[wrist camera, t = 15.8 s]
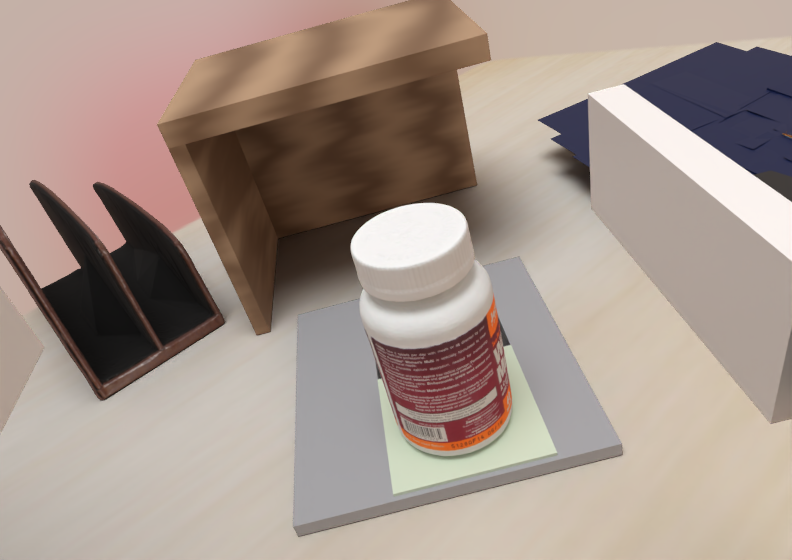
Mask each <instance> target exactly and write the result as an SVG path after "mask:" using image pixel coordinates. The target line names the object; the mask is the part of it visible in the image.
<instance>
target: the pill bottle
mask: <svg viewBox="0 0 792 560" xmlns="http://www.w3.org/2000/svg"><path fill="white" fill-rule="evenodd" d="M351 254H352V258H353V261H354V264H355V267H356V271H357V276H358V279H359V282H360V284H361V286H362V287H363V290H362V293H361V296H360V302H359V309H360V316H361V319H362V322H363V326H364V329H365V332H366V334H367V337H368V340H369V343H370V346H371V349H372V352H373V355H374V358H375V361H376V363H377V366H378V369H379V372H380V375H381V378H382V381H383V384H384V387H385V390H386V393H387V396H388V399H389V402H390V405H391V408H392V411H393V414H394V417H395V420H396V422H397V425H398V427H399V429H400V431H401V433H402V435H403V436H404V437H405V439H406V440H407V441H408V442H409V443H410V444H411V445H413V446H414V447H415V448H417V449H419V450H421V451H423V452H426V453H429V454H433V455H439V456H456V455H462V454H467V453H471V452H474V451H476V450H479V449H481V448H483V447H485V446H486V445H488V444H490V443H491V442H492V441H494V440H495V439H496V438H497V437H498V436H499V435H500V434H501V433H502V432H503V431H504V429H505V427H506V426H507V424H508V422H509V419H510V416H511V412H512V395H511V388H510V382H509V375H508V370H507V364H506V358H505V353H504V347H503V342H502V336H501V331H500V325H499V319H498V314H497V309H496V303H495V298H494V293H493V288H492V284H491V280H490V277H489V275H488V273H487V271H486V270H485V269H484V267H483V266H482V265H481V264H480V263H479V262H478V261H477V260H475V254H474V248H473V244H472V241H471V237H470V232H469V227H468V223H467V220H466V218H465V216H464V215H463V214H462V213H461V212H460V211H459V210H457V209H455V208H453V207H451V206H448V205H444V204H438V203H417V204H410V205H405V206H400V207H397V208H394V209H391V210H389V211H386V212H383V213H381V214H379V215H377V216H375V217H374V218H372V219H371V220H369V221H368V222H366V223H365V224H364V225H363V226H362V227H360V229H359V230H358V231H357V232H356V233H355V235H354V237H353V238H352V241H351Z"/></svg>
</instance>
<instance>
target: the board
mask: <svg viewBox="0 0 792 560" xmlns="http://www.w3.org/2000/svg"><path fill="white" fill-rule="evenodd" d="M483 267H484V269H485V270H486V271H487V273H488V275H489V277H490V280H491V284H492V288H493V293H494V298H495V303H496V309H497V314H498V319H499V325H500V331H501V336H502V342H503V347H504V353H505V358H506V364H507V370H508V375H509V382H510V388H511V395H512V412H511V416H510V419H509V422H508V424H507V426H506V427H505V429H504V431H503V432H502V433H501V434H500V435H499V436H498V437H497V438H496V439H495V440H494V441H492V442H491V443H490V444H488V445H486V446H485V447H483V448H481V449H479V450H476V451H474V452H471V453H467V454H462V455H456V456H439V455H433V454H429V453H426V452H423V451H421V450H419V449H417V448H415V447H414V446H413V445H411V444H410V443H409V442H408V441H407V440H406V439H405V437H404V436H403V435H402V433H401V431H400V429H399V427H398V425H397V422H396V420H395V417H394V414H393V411H392V408H391V405H390V402H389V399H388V396H387V393H386V390H385V387H384V384H383V381H382V378H381V375H380V372H379V369H378V366H377V363H376V361H375V358H374V355H373V352H372V349H371V346H370V343H369V340H368V337H367V334H366V332H365V329H364V326H363V322H362V319H361V316H360V309H359V302H360V299H356V300H352V301H349V302H345V303H341V304H337V305H333V306H330V307H326V308H322V309H318V310H314V311H311V312H307V313H303V314H299V315H298V331H297V375H296V420H295V465H294V509H293V528H294V529H295V531H296V533H297V535H298V536H302V535H306V534H310V533H314V532H318V531H322V530H326V529H330V528H334V527H338V526H342V525H346V524H350V523H353V522H357V521H361V520H365V519H369V518H373V517H377V516H381V515H385V514H389V513H393V512H397V511H401V510H405V509H409V508H413V507H417V506H421V505H425V504H429V503H433V502H437V501H441V500H445V499H449V498H453V497H456V496H460V495H464V494H468V493H472V492H476V491H480V490H484V489H488V488H492V487H496V486H500V485H504V484H508V483H512V482H516V481H520V480H524V479H528V478H532V477H536V476H540V475H544V474H548V473H552V472H556V471H559V470H563V469H567V468H571V467H575V466H579V465H583V464H587V463H591V462H595V461H599V460H603V459H607V458H611V457H615V456H619V455H622V443H621V441H620V439H619V437H618V436H617V434H616V432H615V430H614V428H613V427H612V425H611V423H610V421H609V419H608V417H607V416H606V414H605V412H604V410H603V408H602V406H601V405H600V403H599V401H598V399H597V397H596V396H595V394H594V392H593V390H592V388H591V386H590V385H589V383H588V381H587V379H586V377H585V375H584V374H583V372H582V370H581V368H580V366H579V365H578V363H577V361H576V359H575V357H574V355H573V354H572V352H571V350H570V348H569V346H568V344H567V343H566V341H565V339H564V337H563V335H562V334H561V332H560V330H559V328H558V326H557V324H556V323H555V321H554V319H553V317H552V315H551V313H550V312H549V310H548V308H547V306H546V304H545V302H544V301H543V299H542V297H541V295H540V293H539V292H538V290H537V288H536V286H535V284H534V282H533V281H532V279H531V277H530V275H529V273H528V271H527V270H526V268H525V266H524V264H523V262H522V261H521V259H520V257H515V258H511V259H508V260H504V261H500V262H496V263H493V264H489V265H485V266H483Z"/></svg>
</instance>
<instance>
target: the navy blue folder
mask: <svg viewBox="0 0 792 560" xmlns="http://www.w3.org/2000/svg"><path fill="white" fill-rule="evenodd" d="M622 85H623V84H622ZM624 85H626V86H627V87H629V88H630V89H632V90H633V91H634V92H636V93H637V94H639V95H640V96H641V97H643V98H644V99H646V100H647V101H649V102H650V103H651V104H653V105H654V106H656V107H657V108H659V109H660V110H661V111H663V112H664V113H666V114H667V115H669V116H670V117H671V118H673V119H674V120H676V121H677V122H678V123H680V124H681V125H683V126H684V127H686V128H687V129H688V130H690V131H691V132H693V133H694V134H696V135H697V136H698V137H700V138H701V139H703V140H704V141H705V142H707V143H708V144H710V145H711V146H713V147H714V148H715V149H717V150H718V151H720V152H721V153H723V154H724V155H725V156H727V157H728V158H730V159H731V160H733V161H734V162H735V163H737V164H738V165H740V166H741V167H742V168H744V169H745V170H747V171H748V172H750V173H751V174H752V175H755V174H759V173H763V172H766V171H770V170H771V171H775V172H778V173H781V174H784V175H787V176H791V177H792V56H789V55H786V54H782V53H778V52H775V51H771V50H767V49H763V48H760V47H755V48H753V49H751V50H749V51H744V50H741V49H737V48H734V47H731V46H727V45H724V44H721V43H717V42H716V43H714V44H711V45H709V46H707V47H705V48H703V49H700V50H698V51H696V52H694V53H691V54H689V55H687V56H685V57H682V58H680V59H678V60H676V61H674V62H671V63H669V64H667V65H665V66H662V67H660V68H658V69H656V70H653V71H651V72H649V73H647V74H644V75H642V76H640V77H638V78H636V79H633V80H631V81H629V82H626V83H624ZM538 121H540V122H542V123H544V124H545V125H547V126H549V127H550V128H552V129H554V130H556V131H557V132H559V133H561V135H559V136H556V137H554V138H551V140H553V141H555V142H556V143H558V144H560V145H561V146H563V147H565V148H566V149H568V150H569V151H571V152H573V153H574V154H576V155H575V156H573V157H574V158H575V159H577V160H579V161H580V162H582V163H583V164H585V165H587V166H588V167H590V152H589V119H588V99H586V100H584V101H582V102H579V103H577V104H574V105H572V106H570V107H567V108H565V109H563V110H560V111H558V112H556V113H553V114H551V115H549V116H546V117H544V118H541V119H539V120H538Z"/></svg>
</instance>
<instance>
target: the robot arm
mask: <svg viewBox="0 0 792 560" xmlns="http://www.w3.org/2000/svg"><path fill="white" fill-rule="evenodd" d="M588 119H589V152H590V185H591V209H592V210H593V211H594V212H595V214H596V215H597V216H598V217H599V218H600V220H601V221H602V222H603V223H604V224H605V226H606V227H607V228H608V229H609V230H610V232H611V233H612V234H613V235H614V236H615V238H616V239H617V240H618V241H619V242H620V244H621V245H622V246H623V247H624V248H625V250H626V251H627V252H628V253H629V254H630V256H631V257H632V258H633V259H634V260H635V262H636V263H637V264H638V265H639V266H640V268H641V269H642V270H643V271H644V272H645V274H646V275H647V276H648V277H649V278H650V280H651V281H652V282H653V283H654V284H655V286H656V287H657V288H658V289H659V290H660V292H661V293H662V294H663V295H664V296H665V298H666V299H667V300H668V301H669V302H670V304H671V305H672V306H673V307H674V308H675V310H676V311H677V312H678V313H679V314H680V316H681V317H682V318H683V319H684V320H685V322H686V323H687V324H688V325H689V326H690V328H691V329H692V330H693V331H694V332H695V334H696V335H697V336H698V337H699V338H700V340H701V341H702V342H703V343H704V344H705V346H706V347H707V348H708V349H709V350H710V352H711V353H712V354H713V355H714V357H715V358H716V359H717V360H718V361H719V363H720V364H721V365H722V366H723V367H724V369H725V370H726V371H727V372H728V373H729V375H730V376H731V377H732V378H733V379H734V381H735V382H736V383H737V384H738V385H739V387H740V388H741V389H742V390H743V391H744V393H745V394H746V395H747V396H748V397H749V399H750V400H751V401H752V402H753V403H754V405H755V406H756V407H757V408H758V409H759V411H760V412H761V413H762V414H763V415H764V417H765V418H766V419H767V420H768V421H769V423H770V424H773V423H777V422H781V421H785V420H789V419H792V177H791V176H787V175H784V174H781V173H778V172H775V171H771V170H770V171H766V172H763V173H759V174H755V175H752V174H751V173H750V172H748V171H747V170H745V169H744V168H742V167H741V166H740V165H738V164H737V163H735V162H734V161H733V160H731V159H730V158H728V157H727V156H725V155H724V154H723V153H721V152H720V151H718V150H717V149H715V148H714V147H713V146H711V145H710V144H708V143H707V142H705V141H704V140H703V139H701V138H700V137H698V136H697V135H696V134H694V133H693V132H691V131H690V130H688V129H687V128H686V127H684V126H683V125H681V124H680V123H678V122H677V121H676V120H674V119H673V118H671V117H670V116H669V115H667V114H666V113H664V112H663V111H661V110H660V109H659V108H657V107H656V106H654V105H653V104H651V103H650V102H649V101H647V100H646V99H644V98H643V97H641V96H640V95H639V94H637V93H636V92H634V91H633V90H632V89H630V88H629V87H627V86H626V85H624V84H623V85H619V86H615V87H611V88H607V89H603V90H599V91H596V92H592V93H588ZM43 349H44V345H43V344H42V343H41V341H40V340H39V339H38V337H37V336H36V334H35V333H34V332H33V330H32V329H31V328H30V326H29V325H28V324H27V322H26V321H25V319H24V318H23V317H22V315H21V314H20V313H19V311H18V310H17V309H16V307H15V306H14V305H13V303H12V302H11V300H10V299H9V298H8V296H7V295H6V294H5V292H4V291H3V290H2V288H1V287H0V434H1V432H2V430H3V428H4V426H5V424H6V422H7V420H8V418H9V416H10V414H11V412H12V410H13V408H14V406H15V404H16V402H17V400H18V398H19V396H20V395H21V393H22V391H23V389H24V387H25V385H26V383H27V381H28V379H29V377H30V375H31V373H32V371H33V369H34V367H35V365H36V363H37V361H38V359H39V357H40V355H41V353H42V351H43Z"/></svg>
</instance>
